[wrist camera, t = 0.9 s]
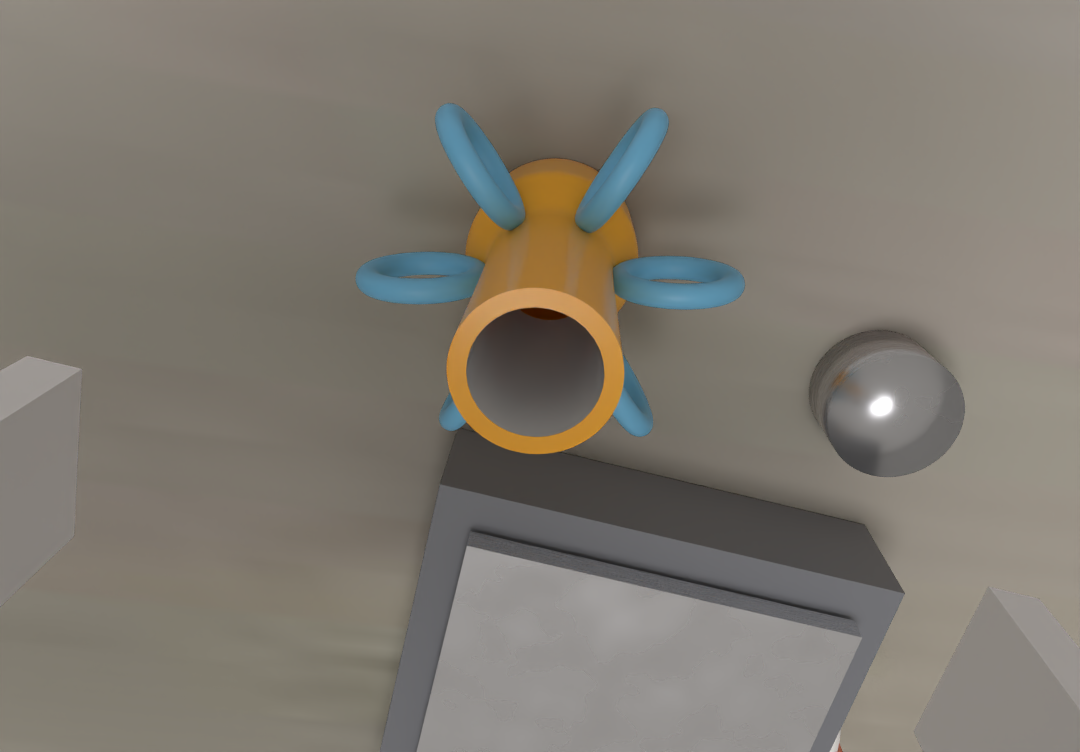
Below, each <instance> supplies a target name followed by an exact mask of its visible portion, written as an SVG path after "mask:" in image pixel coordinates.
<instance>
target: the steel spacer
mask: <svg viewBox="0 0 1080 752" xmlns="http://www.w3.org/2000/svg"><path fill="white" fill-rule="evenodd" d="M809 400H810V406H811V409H812V412H813V414H814V416H815V418H816V420H817V421H818V423H819V425H820V426H821V428H822V429H823V431H824V433H825V434H826V436H827V437H828V439H829V441H830V442H831V444H832V445H833V447H834V449H835V450H836V452H837V453H838V455H839V456H840V457H841V458H842V459H843V460H844V461H845V462H846V463H847V464H849V465H850V466H851V467H853V468H855V469H856V470H859V471H861V472H863V473H866V474H869V475H874V476H880V477H896V476H902V475H907V474H910V473H914V472H916V471H919V470H921V469H923V468H925V467H927V466H929V465H931V464H932V463H934V462H935V461H936V460H938V459H939V458H940V457H941V456H942V455H944V454H945V452H946V451H947V450H948V449H949V448H950V447H951V445H952V444H953V443H954V441H955V440H956V438H957V436H958V434H959V432H960V430H961V427H962V424H963V420H964V413H965V403H964V397H963V393H962V390H961V388H960V385H959V384H958V382H957V380H956V379H955V378H954V376H953V375H952V374H951V373H950V372H949V371H948V370H947V369H946V368H945V367H944V366H942V365H941V364H940V363H939V362H938V361H937V360H936V359H935V358H933V357H932V356H931V355H930V354H929V353H928V352H927V351H926V350H924V349H923V348H922V347H921V346H920V345H919V344H918V343H917V342H915V341H914V340H912V339H911V338H909V337H907V336H905V335H903V334H900V333H897V332H892V331H886V330H873V331H866V332H861V333H858V334H855V335H852V336H850V337H848V338H846V339H844V340H842V341H841V342H839V343H837V344H836V345H835V346H834V347H832V348H831V349H830V350H829V351H828V352H827V353H826V354H825V355H824V356H823V358H822V359H821V360H820V362H819V363H818V365H817V366H816V368H815V370H814V373H813V375H812V378H811V381H810V387H809Z"/></svg>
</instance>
